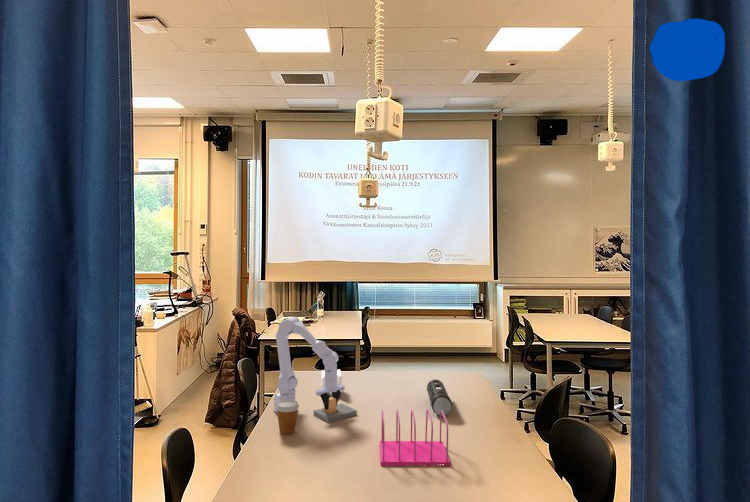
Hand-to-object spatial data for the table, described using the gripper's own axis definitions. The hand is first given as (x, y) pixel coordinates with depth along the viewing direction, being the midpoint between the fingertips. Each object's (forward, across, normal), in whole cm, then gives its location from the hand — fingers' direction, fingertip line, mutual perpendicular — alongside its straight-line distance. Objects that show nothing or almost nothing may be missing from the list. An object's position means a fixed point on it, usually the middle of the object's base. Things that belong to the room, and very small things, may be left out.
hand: (330, 408), depth 216 cm
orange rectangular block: (+2, 0, 0) cm, 2 cm away
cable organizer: (+4, +17, +25) cm, 30 cm away
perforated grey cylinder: (+4, +47, -24) cm, 53 cm away
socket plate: (+3, +2, -1) cm, 4 cm away
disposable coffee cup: (+3, -25, -5) cm, 26 cm away
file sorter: (+4, +2, -53) cm, 53 cm away
